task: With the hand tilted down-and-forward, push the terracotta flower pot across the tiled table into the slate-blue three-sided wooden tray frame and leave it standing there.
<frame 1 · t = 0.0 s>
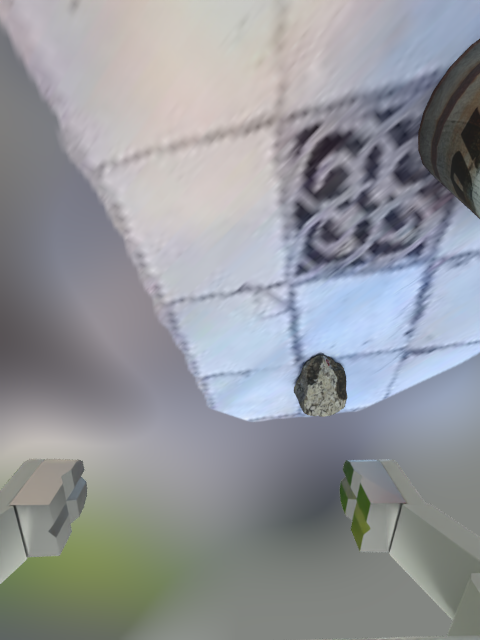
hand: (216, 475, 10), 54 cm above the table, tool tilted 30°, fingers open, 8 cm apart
stone: (315, 371, 104), on the table
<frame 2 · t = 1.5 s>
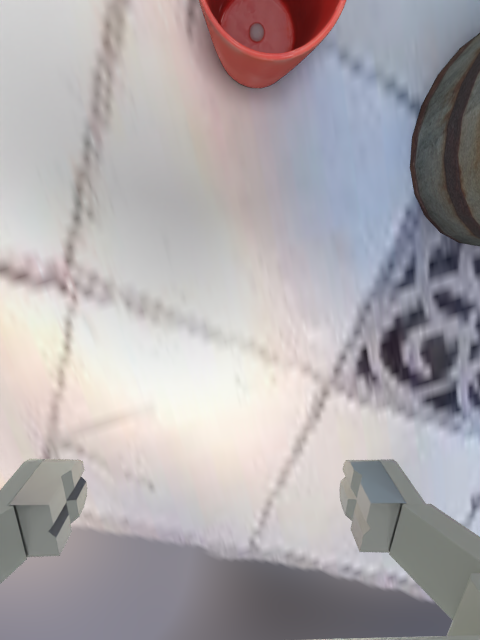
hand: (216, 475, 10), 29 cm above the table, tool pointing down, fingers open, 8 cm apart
flower pot: (255, 41, 30), on the table
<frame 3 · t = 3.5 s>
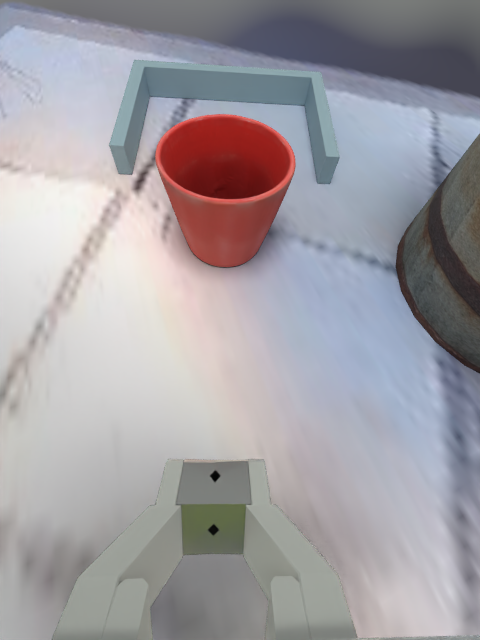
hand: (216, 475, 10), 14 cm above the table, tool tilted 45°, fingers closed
flower pot: (224, 239, 33), on the table
tray frame: (227, 136, 40), on the table
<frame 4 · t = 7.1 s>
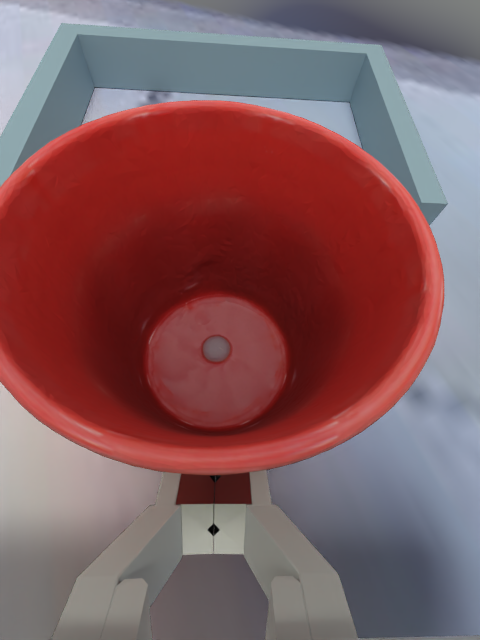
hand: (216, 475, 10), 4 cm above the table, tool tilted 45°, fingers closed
flower pot: (217, 359, 16), on the table, touching gripper
tray frame: (223, 155, 23), on the table
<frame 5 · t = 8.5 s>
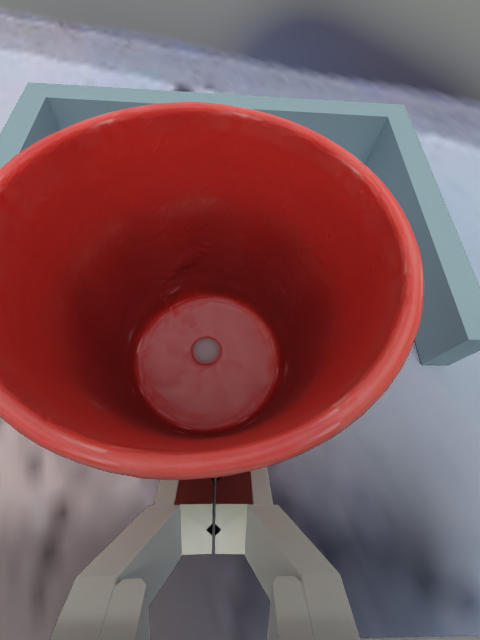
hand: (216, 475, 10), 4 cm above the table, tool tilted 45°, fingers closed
flower pot: (208, 361, 16), on the table, touching gripper
tray frame: (219, 240, 19), on the table
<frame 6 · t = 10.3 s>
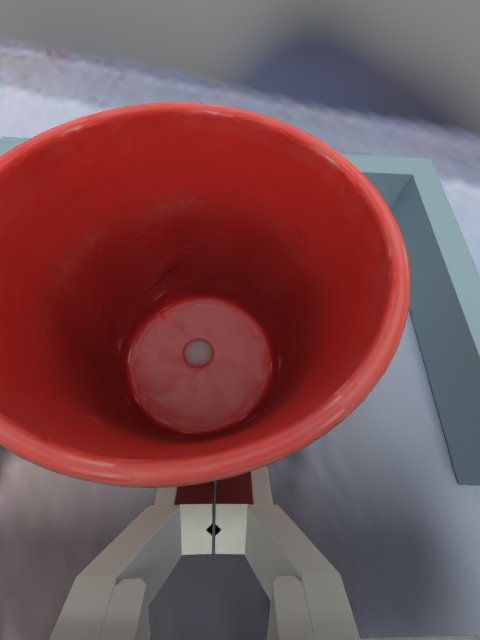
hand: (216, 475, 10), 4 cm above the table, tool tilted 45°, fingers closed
flower pot: (201, 363, 16), on the table, touching gripper
tray frame: (219, 320, 17), on the table
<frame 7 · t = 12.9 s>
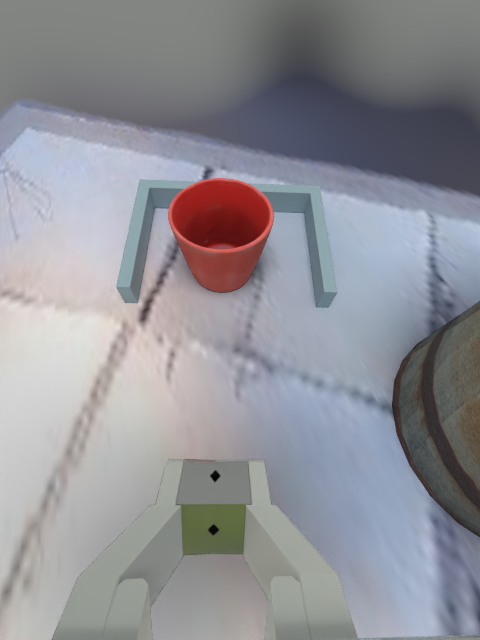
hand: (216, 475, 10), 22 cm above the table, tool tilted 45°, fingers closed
flower pot: (222, 268, 41), on the table
tray frame: (229, 253, 41), on the table
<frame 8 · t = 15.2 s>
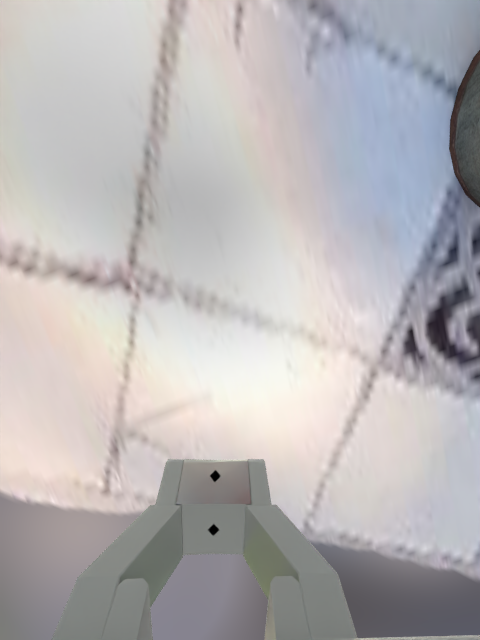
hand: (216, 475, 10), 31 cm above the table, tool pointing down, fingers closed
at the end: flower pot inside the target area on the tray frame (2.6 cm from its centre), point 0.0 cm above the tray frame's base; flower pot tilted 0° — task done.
